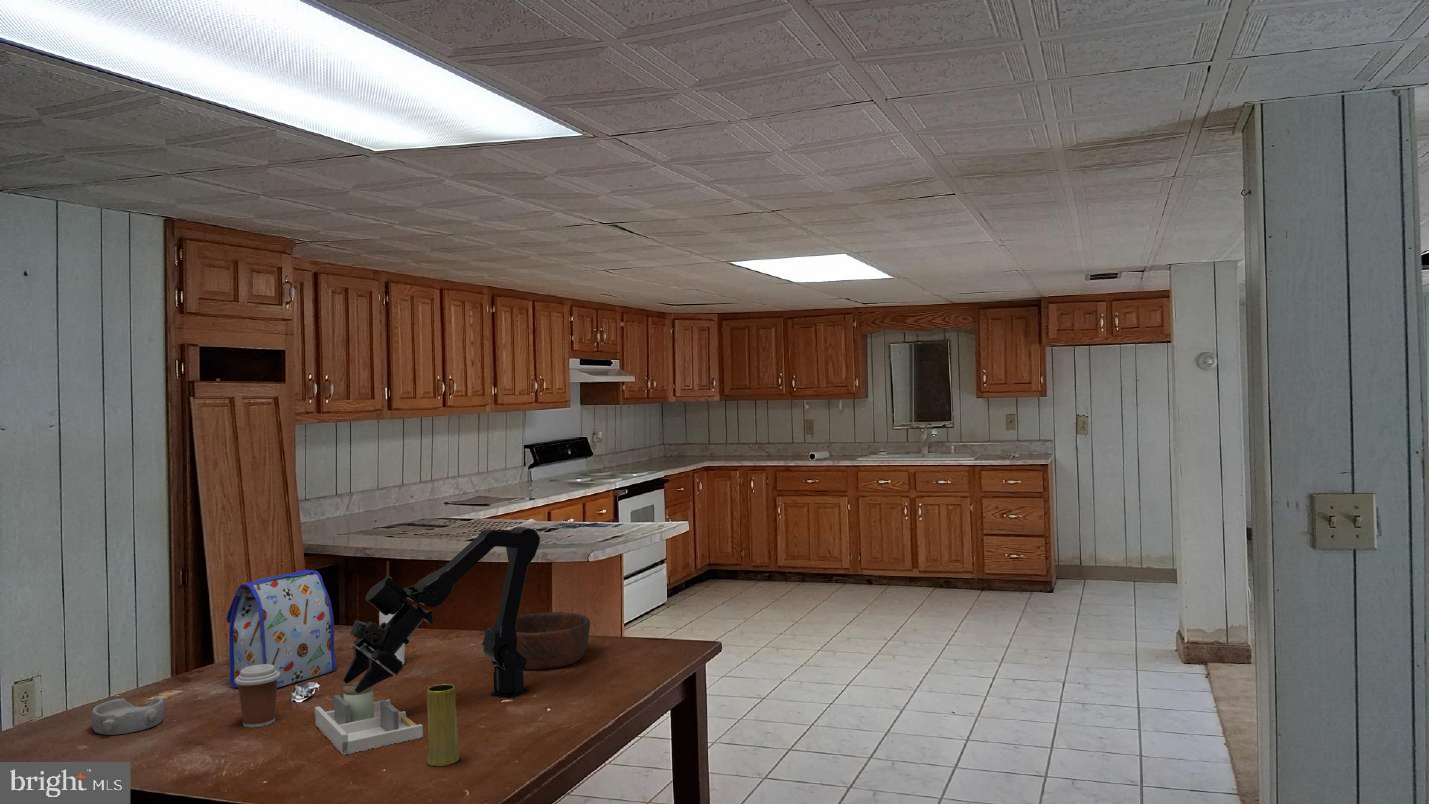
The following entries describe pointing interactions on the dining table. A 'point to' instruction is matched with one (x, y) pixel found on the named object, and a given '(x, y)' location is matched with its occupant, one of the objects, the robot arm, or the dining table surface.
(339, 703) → the plate
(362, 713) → the sage jar
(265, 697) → the coffee cup
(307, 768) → the dining table surface
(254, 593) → the lunch bag
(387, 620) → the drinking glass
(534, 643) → the wooden bowl
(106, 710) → the dish
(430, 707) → the vase
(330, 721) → the white divided tray
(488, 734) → the dining table surface
